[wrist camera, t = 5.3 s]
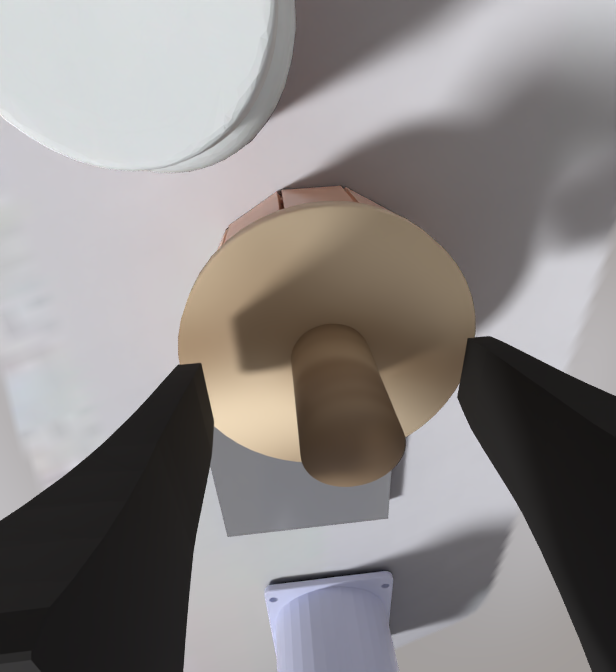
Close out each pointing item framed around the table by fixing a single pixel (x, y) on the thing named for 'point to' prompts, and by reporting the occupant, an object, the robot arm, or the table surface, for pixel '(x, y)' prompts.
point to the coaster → (285, 493)
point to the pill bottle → (144, 77)
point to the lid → (328, 336)
